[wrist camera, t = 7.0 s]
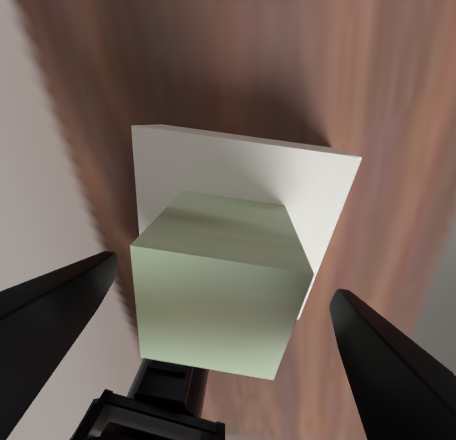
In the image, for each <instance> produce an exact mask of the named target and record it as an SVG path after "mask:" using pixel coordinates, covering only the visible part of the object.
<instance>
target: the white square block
mask: <svg viewBox="0 0 456 440" xmlns="http://www.w3.org/2000/svg"><path fill="white" fill-rule="evenodd" d="M131 131H132V144H133V157H134V171H135V184H136V197H137V211H138V224H139V235H140V234H141V233H142V232H143V231H144V230H145V229H146V228H147V227H148V226H149V225H150V224H151V223H152V222H153V221H154V220H155V219H156V218H157V217H158V216H159V215H160V214H161V212H162V211H163V210H164V209H165V208H166V207H167V206H168V205H169V204H170V203H171V202H172V201H173V200H174V199H175V198H176V197H177V196H178V195H179V194H180V193H181V192H182V191H189V192H195V193H202V194H209V195H216V196H223V197H229V198H236V199H243V200H250V201H257V202H263V203H270V204H277V205H284V206H285V207H286V209H287V212H288V214H289V216H290V219H291V221H292V223H293V226H294V228H295V231H296V233H297V235H298V238H299V240H300V242H301V245H302V247H303V249H304V252H305V254H306V256H307V259H308V261H309V263H310V266H311V268H312V270H313V273H314V276H313V278H312V281H311V284H310V286H309V289H308V291H307V294H306V297H305V299H304V302H303V304H302V307H301V310H300V312H299V315H298V317H297V319H298V320H299V318H300V315H301V313H302V310H303V308H304V305H305V302H306V300H307V297H308V295H309V292H310V290H311V287H312V285H313V282H314V279H315V277H316V274H317V272H318V269H319V267H320V264H321V262H322V259H323V257H324V254H325V251H326V249H327V246H328V244H329V241H330V239H331V236H332V234H333V231H334V228H335V226H336V223H337V221H338V218H339V216H340V213H341V211H342V208H343V205H344V203H345V200H346V198H347V195H348V193H349V190H350V188H351V185H352V182H353V180H354V177H355V175H356V172H357V170H358V167H359V165H360V162H361V160H362V157H359V156H356V155H353V154H350V153H347V152H344V151H341V150H338V149H335V148H331V147H324V146H317V145H309V144H302V143H295V142H287V141H280V140H273V139H265V138H258V137H251V136H244V135H236V134H229V133H222V132H214V131H207V130H200V129H193V128H185V127H178V126H171V125H163V124H158V125H134V126H131Z"/></svg>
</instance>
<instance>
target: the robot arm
mask: <svg viewBox="0 0 456 440" xmlns="http://www.w3.org/2000/svg"><path fill="white" fill-rule="evenodd" d="M118 270H119V268H118V260H117V254H116V253H115V252H109V251H104V252H101V253H99V254H97V255H94V256H91V257H89V258H86V259H83V260H81V261H78V262H76V263H73V264H70V265H68V266H65V267H63V268H60V269H57V270H55V271H52V272H50V273H47V274H45V275H42V276H39V277H37V278H34V279H32V280H29V281H26V282H24V283H21V284H19V285H16V286H13V287H11V288H8V289H6V290H3V291H1V292H0V440H6V439H7V437H8V436H9V435H10V433H11V432H12V430H13V429H14V427H15V426H16V425H17V423H18V422H19V420H20V419H21V418H22V416H23V415H24V413H25V412H26V410H27V409H28V408H29V406H30V405H31V403H32V402H33V400H34V399H35V398H36V396H37V395H38V393H39V392H40V390H41V389H42V388H43V386H44V385H45V383H46V382H47V380H48V379H49V378H50V376H51V375H52V373H53V372H54V370H55V369H56V368H57V366H58V365H59V363H60V362H61V360H62V359H63V358H64V356H65V355H66V353H67V352H68V351H69V349H70V348H71V346H72V345H73V343H74V342H75V341H76V339H77V338H78V336H79V335H80V333H81V332H82V331H83V329H84V328H85V326H86V325H87V323H88V322H89V321H90V319H91V318H92V316H93V315H94V313H95V312H96V310H97V309H98V307H99V306H100V304H101V302H102V301H103V299H104V297H105V295H106V293H107V292H108V290H109V288H110V286H111V285H112V283H113V281H114V279H115V277H116V276H117V274H118ZM330 313H331V317H332V322H333V327H334V332H335V336H336V341H337V345H338V349H339V352H340V356H341V359H342V362H343V365H344V368H345V371H346V374H347V377H348V381H349V384H350V387H351V390H352V393H353V396H354V399H355V402H356V405H357V409H358V412H359V415H360V418H361V421H362V424H363V427H364V430H365V434H366V437H367V440H456V376H454V374H453V372H451V371H450V370H449V369H447V368H446V367H445V366H444V365H443V364H441V363H440V362H439V361H437V360H436V359H435V358H434V357H432V356H431V355H430V354H429V353H427V352H426V351H425V350H423V349H422V348H421V347H420V346H419V345H417V344H416V343H415V342H414V341H412V340H411V339H410V338H409V337H407V336H406V335H405V334H404V333H402V332H401V331H400V330H399V329H397V328H396V327H395V326H394V325H392V324H391V323H390V322H388V321H387V320H386V319H385V318H383V317H382V316H381V315H380V314H378V313H377V312H376V311H375V310H373V309H372V308H371V307H370V306H368V305H367V304H366V303H365V302H363V301H362V300H361V299H360V298H358V297H357V296H356V295H355V294H353V293H352V292H351V291H349V290H346V289H337V290H336V292H335V294H334V296H333V298H332V300H331V302H330ZM208 371H209V369H205V368H199V367H193V366H187V365H182V364H176V363H170V362H164V361H158V360H152V359H147V358H143V361H142V363H141V365H140V367H139V370H138V372H137V374H136V377H135V379H134V381H133V383H132V386H131V388H130V390H129V392H128V395H127V397H125V396H121V395H118V394H114V393H113V391H110V390H107V389H105V390H104V392H103V393H102V395H101V397H100V398H98V399H94V400H93V402H92V403H91V405H90V407H89V409H88V410H87V412H86V414H85V416H84V418H83V419H82V421H81V423H80V424H79V426H78V428H77V429H76V431H75V433H74V434H73V435H72V437H71V438H70V440H225V423H221V422H218V421H217V422H216V423H215V422H212V421H208V420H205V419H201V414H202V408H203V402H204V396H205V390H206V383H207V377H208Z"/></svg>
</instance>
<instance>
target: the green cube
mask: <svg viewBox="0 0 456 440" xmlns="http://www.w3.org/2000/svg"><path fill="white" fill-rule="evenodd" d="M130 252H131V262H132V272H133V283H134V293H135V303H136V314H137V324H138V334H139V345H140V355H141V358H147V359H152V360H158V361H164V362H170V363H176V364H182V365H187V366H193V367H199V368H205V369H211V370H216V371H222V372H228V373H234V374H240V375H246V376H251V377H257V378H263V379H269V380H274V377H275V375H276V372H277V370H278V367H279V364H280V362H281V359H282V357H283V354H284V351H285V349H286V346H287V344H288V341H289V338H290V336H291V333H292V331H293V328H294V325H295V323H296V320H297V317H298V315H299V312H300V310H301V307H302V304H303V302H304V299H305V297H306V294H307V291H308V289H309V286H310V284H311V281H312V278H313V276H314V273H313V270H312V268H311V266H310V263H309V261H308V259H307V256H306V254H305V252H304V249H303V247H302V245H301V242H300V240H299V238H298V235H297V233H296V231H295V228H294V226H293V223H292V221H291V219H290V216H289V214H288V212H287V209H286V207H285V206H284V205H277V204H270V203H263V202H257V201H250V200H243V199H236V198H229V197H223V196H216V195H209V194H202V193H195V192H189V191H182V192H181V193H180V194H179V195H178V196H177V197H176V198H175V199H174V200H173V201H172V202H171V203H170V204H169V205H168V206H167V207H166V208H165V209H164V210H163V211H162V212H161V214H160V215H159V216H158V217H157V218H156V219H155V220H154V221H153V222H152V223H151V224H150V225H149V226H148V227H147V228H146V229H145V230H144V231H143V232H142V233H141V234H140V235H139V236H138V237H137V238H136V240H135V241H134V242H133V243H132V244H131V245H130Z"/></svg>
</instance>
